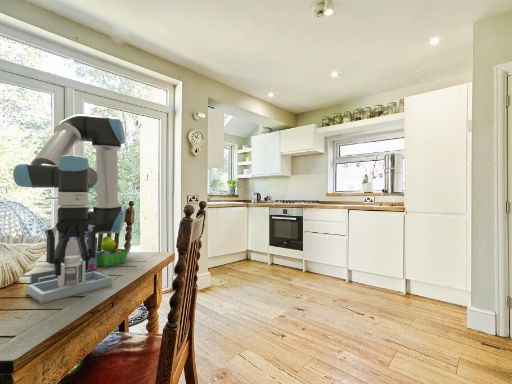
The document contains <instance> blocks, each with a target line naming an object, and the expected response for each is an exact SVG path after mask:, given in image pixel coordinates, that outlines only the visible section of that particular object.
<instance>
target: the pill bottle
mask: <svg viewBox="0 0 512 384" xmlns="http://www.w3.org/2000/svg"><path fill="white" fill-rule="evenodd" d="M79 261H80V256H77V255H75V256H67V257H64V261H63V264H65V280H64V286H65V287H70V286H74V285H78V284H80V283H81V262H79Z"/></svg>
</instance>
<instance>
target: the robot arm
mask: <svg viewBox="0 0 512 384" xmlns="http://www.w3.org/2000/svg"><path fill="white" fill-rule="evenodd" d="M125 137H126V136H125V130H124V125H123V122H122V120H121V119H120V118H118V117H115V116H114V117H112V116H104V115H94V114H93V115H90V114H82V113H81V114H75V115H72V116H69V117H67V118H64V119H63V120H61V121H60V122H59V123H58V124H57V125H56V126H55V127H54V128H53V134H52V136H51V137H50V138H49V140H48V141H47V142H46V143H45V145H44V146H43V147H42V148H41V150H40V151H39V152H38V153H37V155H36V156H35V158H34V159H33V160H32V161H31V162H30V163H20V164H16V165H15V166H14V168H13V171H12V172H13V173H12V177H13V180H14V183H15V185H17V186H18V187H20V188H32V189H34V188H39V189H41V188H42V189H43V188H44V189H45V188H46V189H47V188H48V189H49V188H50V189H51V188H52V189H53V188H54V189H55V188H56V189H58V190H57V206H59V207H58V208H57V221H56V224H55V226H54V227H51V228H45V229H44V234H45V236H46V258H45V261H46V263H48V264H50V265H54V266H53V267H54V268H53V269H54V274H55V275H56V276H58V286H60V287H64V280H65V264H64V257H65V250H66V247H67V243H68V241H69V239H70V238H72V237H76V239H77V242H78V246H79V249H80V253H81V257H82V260H80V261H79V262H81V282H85V273H86V271H85V270H88V261H89V260H90V258H91V257H94V256H95V250H96V235H97V234H99V235H100V234H101V235H102V234H103V235H104V234H118V233H120V232H122V230H123V228H124V224H125V221H126V220H125V219H126V208H122V206H123V205H122V204H121V203H120V202H119V189H118V188H119V185H118V183H119V177H118V176H119V175H118V174H119V173H118V172H119V171H118V166H119V165H118V161H119V160H118V152H119V150H120V149H122V145H123V144H125V143H126V140H125V139H126V138H125ZM80 142H91V147H92V148H94V149H95V158H96V162H95V163H96V165H95V166H96V168H95V169H96V170H95V169H94V168H92V167H90V165H89V159H88V158H87V157H85V156H83V155H82V156H81V155H74V154H73V155H71V154H70V152H71V151H72V149H73V148H74V146H75V145H78V144H79V143H80ZM95 186H96V203H94V205H93V206H92V207H93V208H90V206H89V205H88V204H89V202H88V201H89V200H88V198H89V189H92V188H94V187H95ZM85 231H89V233H88V235H87V237H88V251H87V247H86V243H85V237H84V235H86V233H84V232H85ZM57 232H58V233H57ZM56 235H57V244H56V237H55V236H56ZM55 245H56V246H55Z"/></svg>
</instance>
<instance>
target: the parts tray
mask: <svg viewBox="0 0 512 384" xmlns="http://www.w3.org/2000/svg"><path fill="white" fill-rule="evenodd" d="M111 286H113V276H110V275H107V274H104V273H101V272H98V271H96V270H93V271H92V270H91V271H87V272H85V282H81V283H80V284H78V285H74V286H70V287H65V286H64V287H60V286H58V279H54V280H50V281H45V282H40V283H33V284H31V283H30V284H27V288H26V291H27V292H26V293H27V295H28V296H30V297H31V298H32V299H34V300H35V301H36V302H38V303H39V304H40V305H43V304H47V303H50V302H54V301H57V300H62V299H65V298H70V297H73V296H76V295H81V294H83V293H88V292H89V293H90V292H91V291H96V290H99V289H103V288H107V287H111Z"/></svg>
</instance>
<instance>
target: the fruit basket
mask: <svg viewBox="0 0 512 384" xmlns="http://www.w3.org/2000/svg"><path fill="white" fill-rule="evenodd" d="M100 244H101V246H100V247H101V251H97V266H99V267H103V268H105V267H106V268H107V267H109V266H114V265H119V264H123V263H125V262H126V260H127V257H128V253H129V252H130V251H129V250H130V249H129V250H128V249H125V248H115V246H117V242H116V241H115V240H114V239H113V238H112V237H111V236H108V235H107V236H104V237H103V238H102V242H101V243H100Z"/></svg>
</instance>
